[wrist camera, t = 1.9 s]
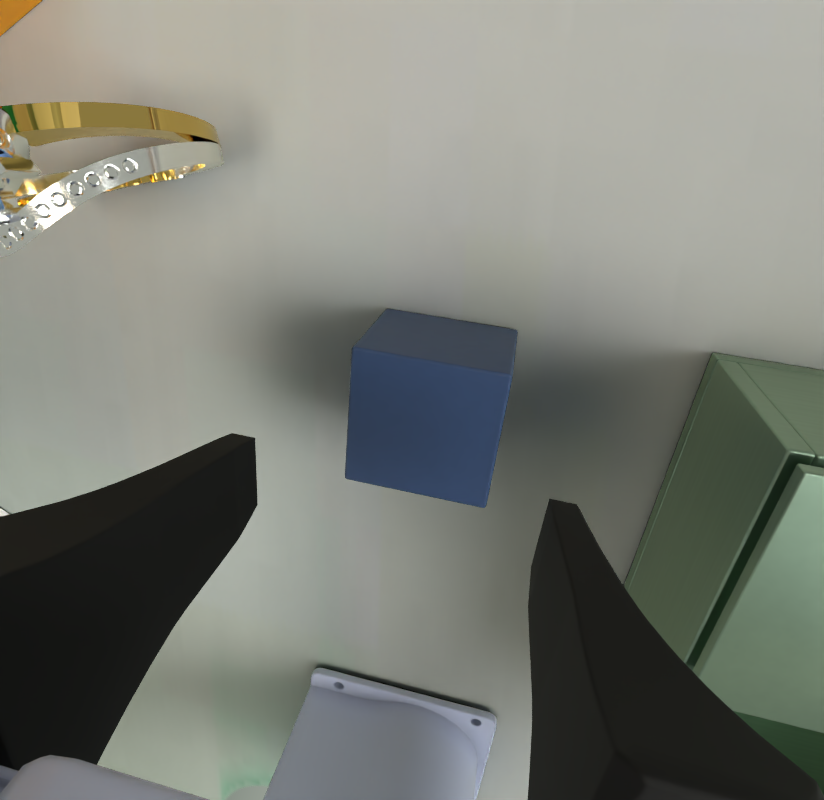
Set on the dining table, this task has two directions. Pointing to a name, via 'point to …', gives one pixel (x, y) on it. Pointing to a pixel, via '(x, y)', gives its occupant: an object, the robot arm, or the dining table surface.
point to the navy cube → (428, 405)
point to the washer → (746, 550)
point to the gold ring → (61, 192)
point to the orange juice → (14, 12)
